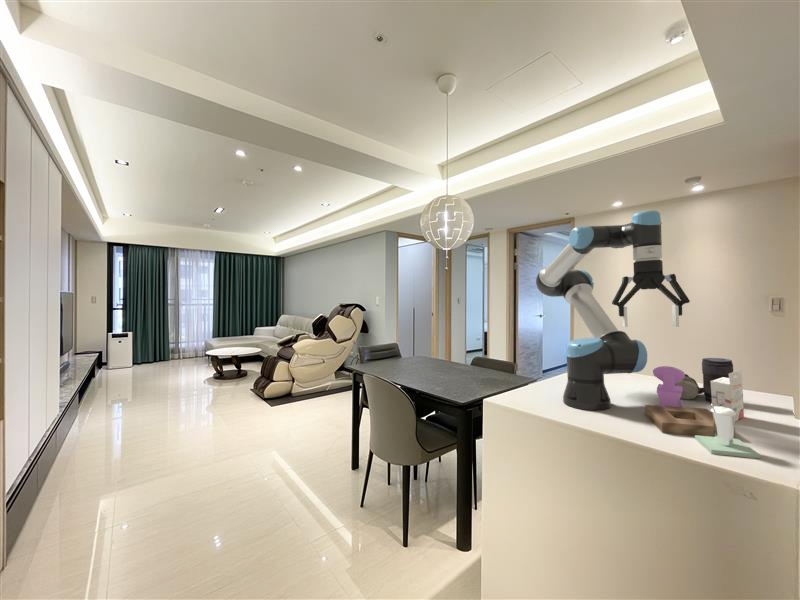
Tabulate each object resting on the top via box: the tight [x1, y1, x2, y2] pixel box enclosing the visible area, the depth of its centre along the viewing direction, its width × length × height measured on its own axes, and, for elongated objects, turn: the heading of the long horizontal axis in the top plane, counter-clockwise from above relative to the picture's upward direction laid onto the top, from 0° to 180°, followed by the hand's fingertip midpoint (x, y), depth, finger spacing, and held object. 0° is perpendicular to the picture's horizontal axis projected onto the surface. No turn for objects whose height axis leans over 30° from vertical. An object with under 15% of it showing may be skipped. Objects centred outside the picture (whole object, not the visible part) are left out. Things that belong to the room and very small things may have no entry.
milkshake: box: [710, 404, 736, 446], centre depth 86 cm, size 4×5×10 cm
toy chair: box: [652, 365, 686, 407], centre depth 114 cm, size 8×9×15 cm
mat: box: [694, 435, 761, 459], centre depth 85 cm, size 9×9×1 cm
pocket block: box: [644, 404, 736, 439], centre depth 101 cm, size 16×16×3 cm
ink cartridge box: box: [710, 370, 745, 422], centre depth 105 cm, size 9×5×15 cm, turn 117°
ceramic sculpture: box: [674, 373, 704, 401], centre depth 127 cm, size 11×9×15 cm
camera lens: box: [701, 357, 734, 404], centre depth 120 cm, size 8×8×15 cm
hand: (649, 326), depth 109 cm, fingers open, 13 cm apart
